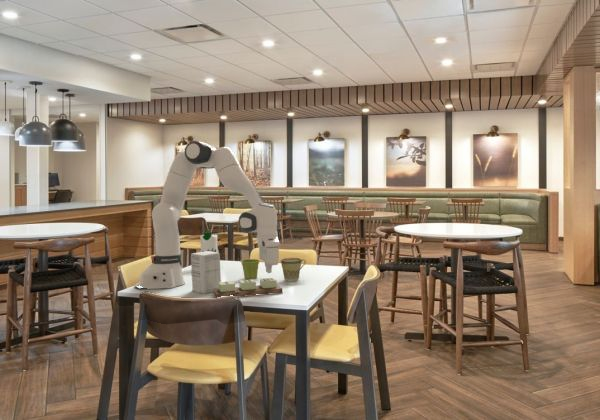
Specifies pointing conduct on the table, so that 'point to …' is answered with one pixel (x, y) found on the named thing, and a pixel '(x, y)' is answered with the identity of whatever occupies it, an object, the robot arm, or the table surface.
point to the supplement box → (205, 271)
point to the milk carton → (209, 242)
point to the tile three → (268, 283)
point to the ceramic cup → (291, 268)
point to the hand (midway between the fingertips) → (268, 272)
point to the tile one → (226, 286)
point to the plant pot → (250, 268)
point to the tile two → (247, 284)
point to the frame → (248, 291)
